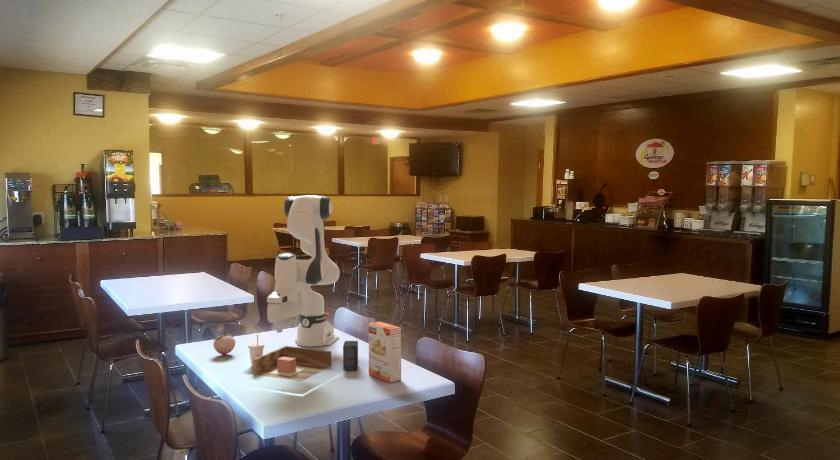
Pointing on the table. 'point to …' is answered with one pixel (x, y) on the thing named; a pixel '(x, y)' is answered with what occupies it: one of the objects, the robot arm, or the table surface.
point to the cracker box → (385, 351)
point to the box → (350, 355)
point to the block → (286, 364)
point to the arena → (305, 360)
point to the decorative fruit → (224, 344)
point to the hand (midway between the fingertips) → (286, 329)
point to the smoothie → (255, 350)
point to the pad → (286, 373)
